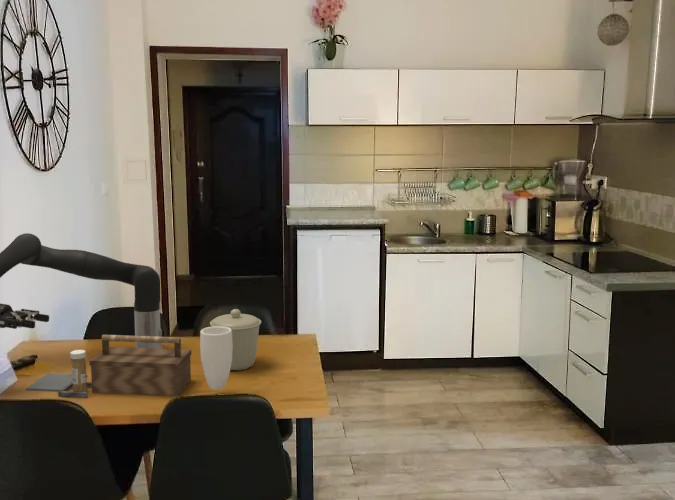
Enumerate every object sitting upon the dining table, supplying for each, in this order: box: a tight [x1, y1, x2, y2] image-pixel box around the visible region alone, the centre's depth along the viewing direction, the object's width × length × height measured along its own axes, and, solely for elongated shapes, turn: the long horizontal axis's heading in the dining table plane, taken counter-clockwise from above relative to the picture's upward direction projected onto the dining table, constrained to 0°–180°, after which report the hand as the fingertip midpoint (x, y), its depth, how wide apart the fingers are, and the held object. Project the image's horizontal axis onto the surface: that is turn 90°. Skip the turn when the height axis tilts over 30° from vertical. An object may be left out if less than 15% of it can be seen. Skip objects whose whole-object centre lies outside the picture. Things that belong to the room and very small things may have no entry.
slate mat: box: [25, 373, 88, 392], centre depth 219 cm, size 14×14×1 cm
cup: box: [199, 326, 233, 391], centre depth 209 cm, size 10×10×22 cm
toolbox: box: [57, 334, 192, 399], centre depth 215 cm, size 37×19×17 cm, turn 86°
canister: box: [209, 308, 262, 371], centre depth 237 cm, size 18×18×21 cm
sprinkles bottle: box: [69, 349, 88, 393], centre depth 211 cm, size 5×5×13 cm
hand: (41, 321), depth 209 cm, fingers open, 8 cm apart
